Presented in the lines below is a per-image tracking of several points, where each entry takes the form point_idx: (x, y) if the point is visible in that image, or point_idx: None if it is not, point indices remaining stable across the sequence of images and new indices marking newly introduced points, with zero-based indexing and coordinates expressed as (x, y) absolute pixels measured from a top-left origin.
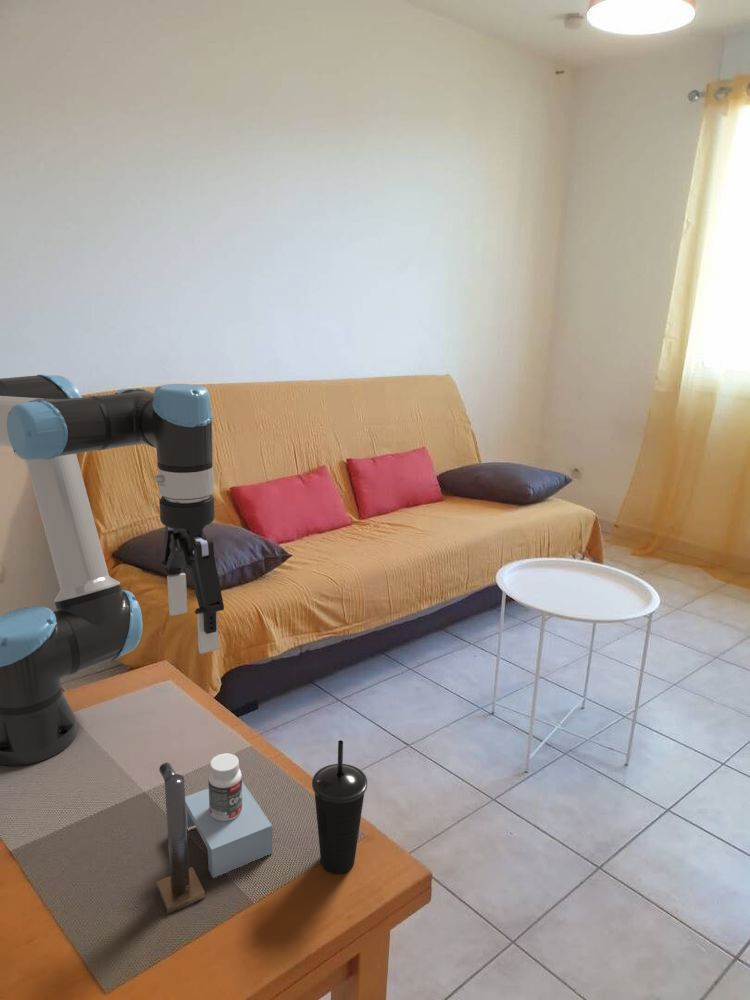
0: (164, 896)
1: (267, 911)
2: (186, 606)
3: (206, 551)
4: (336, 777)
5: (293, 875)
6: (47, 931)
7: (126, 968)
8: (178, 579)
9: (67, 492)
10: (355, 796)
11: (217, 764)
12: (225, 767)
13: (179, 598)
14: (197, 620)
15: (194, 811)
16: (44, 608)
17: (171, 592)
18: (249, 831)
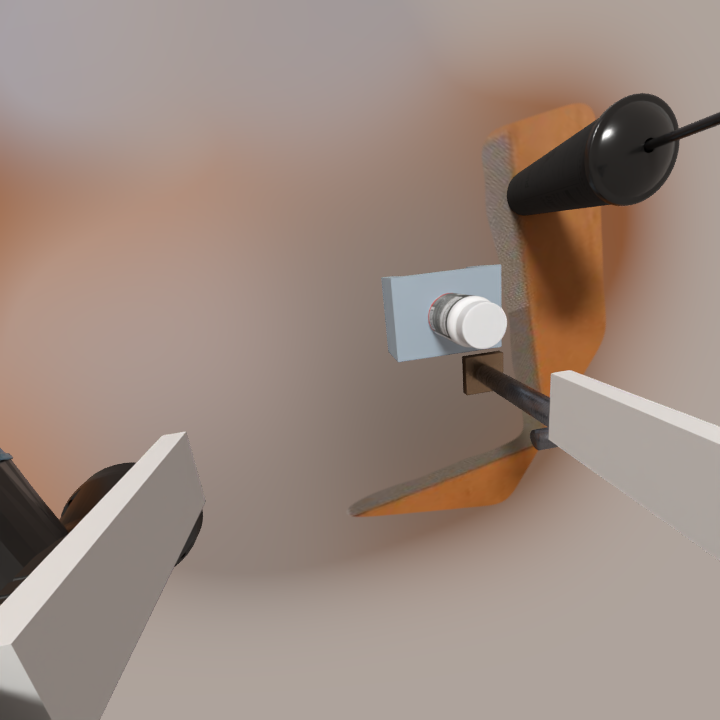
0: (488, 390)
1: (544, 295)
2: (172, 451)
3: None
4: (652, 156)
5: (518, 253)
6: (465, 481)
7: (533, 424)
8: (72, 656)
9: None
10: (678, 142)
11: (485, 338)
12: (499, 328)
13: (157, 518)
14: (689, 535)
15: (430, 353)
16: None
17: (146, 599)
18: (497, 296)
